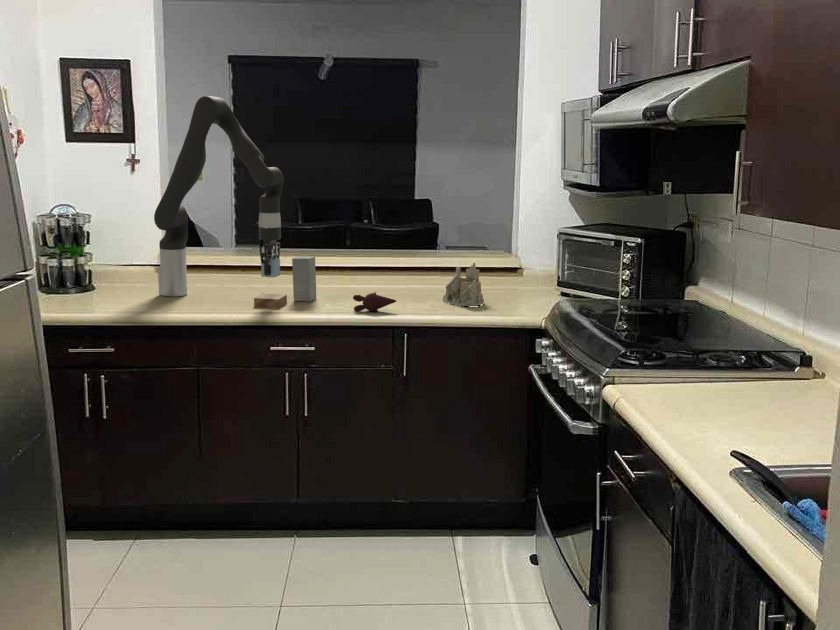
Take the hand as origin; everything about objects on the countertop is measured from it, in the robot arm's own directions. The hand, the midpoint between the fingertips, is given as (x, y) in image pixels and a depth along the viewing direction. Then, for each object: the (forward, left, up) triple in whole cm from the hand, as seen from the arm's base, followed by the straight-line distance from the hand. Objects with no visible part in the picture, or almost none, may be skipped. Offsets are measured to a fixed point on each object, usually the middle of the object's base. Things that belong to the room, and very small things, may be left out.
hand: (270, 273), depth 305 cm
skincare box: (+8, +13, -11) cm, 19 cm away
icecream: (+37, +2, -11) cm, 39 cm away
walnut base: (0, 0, -12) cm, 12 cm away
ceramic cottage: (+64, +27, -11) cm, 71 cm away
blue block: (0, 0, -1) cm, 1 cm away
